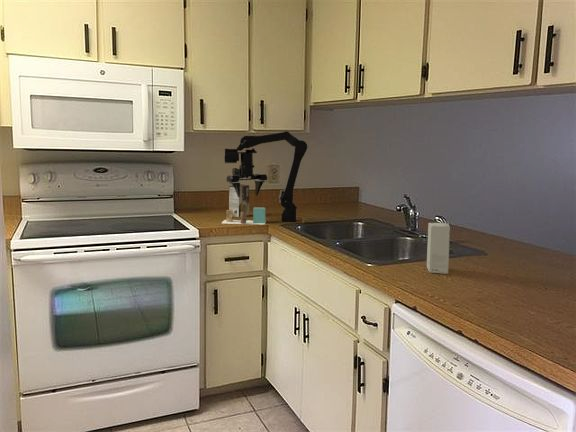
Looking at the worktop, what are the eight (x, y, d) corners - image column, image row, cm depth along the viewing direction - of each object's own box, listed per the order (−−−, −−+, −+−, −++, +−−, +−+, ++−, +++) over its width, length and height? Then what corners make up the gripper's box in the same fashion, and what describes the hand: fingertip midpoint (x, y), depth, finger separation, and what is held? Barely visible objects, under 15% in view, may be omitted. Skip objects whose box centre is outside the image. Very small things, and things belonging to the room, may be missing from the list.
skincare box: (448, 274, 154) (451, 226, 152) (428, 273, 155) (431, 225, 153) (444, 267, 162) (447, 222, 160) (425, 266, 163) (428, 221, 161)
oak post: (232, 222, 237) (232, 210, 236) (231, 223, 235) (231, 210, 234) (227, 222, 237) (227, 209, 236) (226, 223, 235) (226, 210, 234)
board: (266, 222, 239) (266, 220, 239) (264, 226, 230) (264, 224, 229) (224, 221, 240) (224, 219, 240) (221, 225, 230) (221, 223, 230)
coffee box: (239, 215, 260) (239, 184, 258) (249, 216, 257) (249, 184, 254) (228, 217, 252) (228, 185, 250) (238, 218, 249) (239, 186, 247)
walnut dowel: (246, 224, 233) (246, 211, 232) (245, 225, 231) (245, 212, 230) (240, 224, 233) (241, 211, 232) (240, 225, 231) (240, 212, 230)
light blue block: (265, 221, 238) (265, 207, 237) (264, 223, 233) (264, 209, 232) (254, 221, 238) (254, 207, 237) (253, 222, 233) (253, 208, 232)
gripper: (256, 161, 245) (257, 193, 248) (221, 163, 236) (222, 196, 238) (267, 162, 236) (268, 195, 238) (231, 164, 226) (232, 198, 229)
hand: (247, 196), depth 236 cm, fingers open, 9 cm apart
